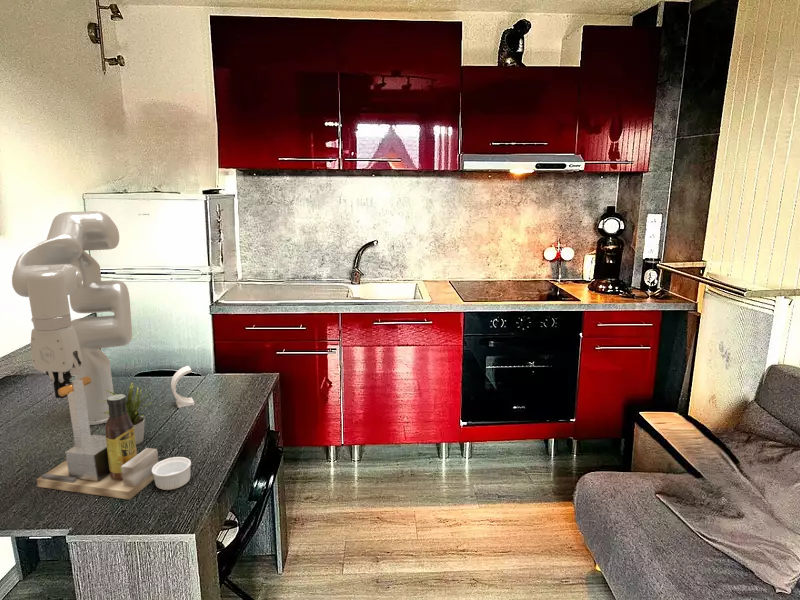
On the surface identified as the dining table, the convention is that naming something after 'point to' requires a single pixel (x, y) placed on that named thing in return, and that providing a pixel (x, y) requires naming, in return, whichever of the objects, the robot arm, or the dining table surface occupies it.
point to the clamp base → (106, 478)
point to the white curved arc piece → (180, 400)
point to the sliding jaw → (84, 437)
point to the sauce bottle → (119, 435)
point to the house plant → (134, 413)
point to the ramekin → (171, 473)
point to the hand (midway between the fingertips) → (63, 395)
